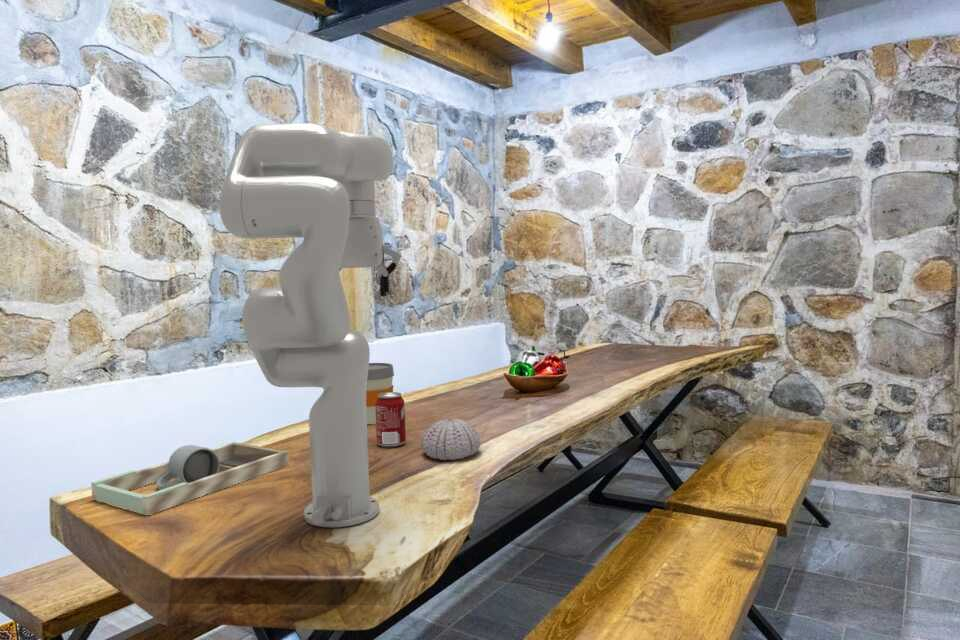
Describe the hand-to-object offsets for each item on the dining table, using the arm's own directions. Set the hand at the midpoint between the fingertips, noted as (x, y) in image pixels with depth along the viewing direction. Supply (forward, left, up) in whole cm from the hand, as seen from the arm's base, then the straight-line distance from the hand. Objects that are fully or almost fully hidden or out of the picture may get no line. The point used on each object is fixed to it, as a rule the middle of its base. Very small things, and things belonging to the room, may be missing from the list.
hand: (360, 296), depth 133 cm
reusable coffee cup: (+43, +9, -36) cm, 57 cm away
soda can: (+19, -1, -36) cm, 41 cm away
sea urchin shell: (+11, -16, -36) cm, 41 cm away
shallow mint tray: (-18, +38, -36) cm, 55 cm away
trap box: (-7, +33, -36) cm, 49 cm away
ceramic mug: (-9, +34, -36) cm, 50 cm away
